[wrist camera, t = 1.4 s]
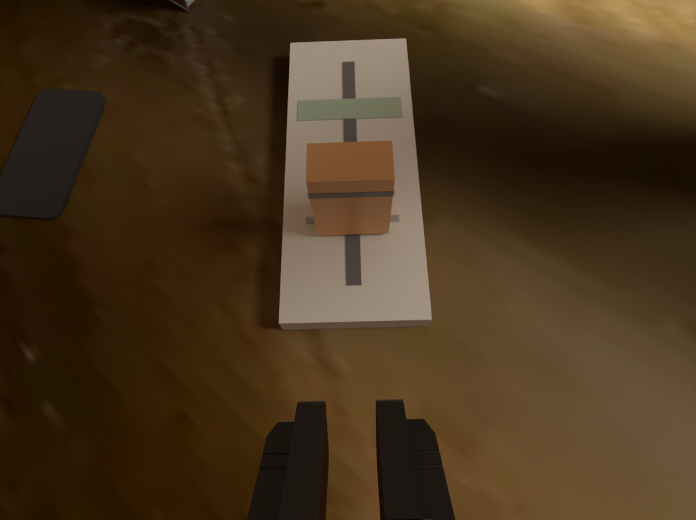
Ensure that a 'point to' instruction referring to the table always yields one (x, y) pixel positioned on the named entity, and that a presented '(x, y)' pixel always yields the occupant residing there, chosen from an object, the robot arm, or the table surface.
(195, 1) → the food container
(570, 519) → the table surface
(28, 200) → the phone
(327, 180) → the fader tab
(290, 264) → the white slider board
